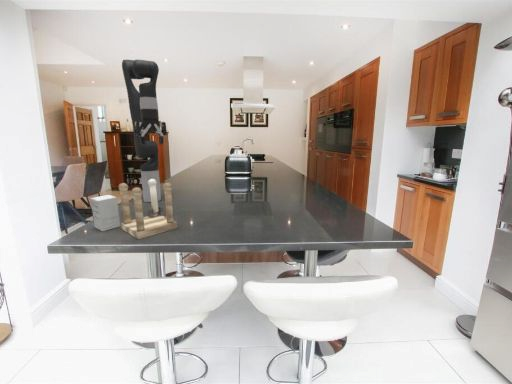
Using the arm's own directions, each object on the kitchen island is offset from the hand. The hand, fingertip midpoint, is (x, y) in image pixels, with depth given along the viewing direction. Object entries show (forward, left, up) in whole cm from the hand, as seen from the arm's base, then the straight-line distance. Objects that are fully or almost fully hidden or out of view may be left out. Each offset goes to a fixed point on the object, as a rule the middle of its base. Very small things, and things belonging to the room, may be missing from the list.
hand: (152, 144), depth 124 cm
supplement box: (+6, -25, -32) cm, 41 cm away
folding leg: (+14, -8, -28) cm, 32 cm away
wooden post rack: (+20, -14, -32) cm, 40 cm away
